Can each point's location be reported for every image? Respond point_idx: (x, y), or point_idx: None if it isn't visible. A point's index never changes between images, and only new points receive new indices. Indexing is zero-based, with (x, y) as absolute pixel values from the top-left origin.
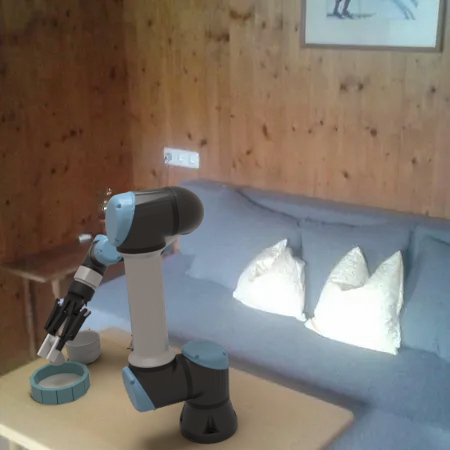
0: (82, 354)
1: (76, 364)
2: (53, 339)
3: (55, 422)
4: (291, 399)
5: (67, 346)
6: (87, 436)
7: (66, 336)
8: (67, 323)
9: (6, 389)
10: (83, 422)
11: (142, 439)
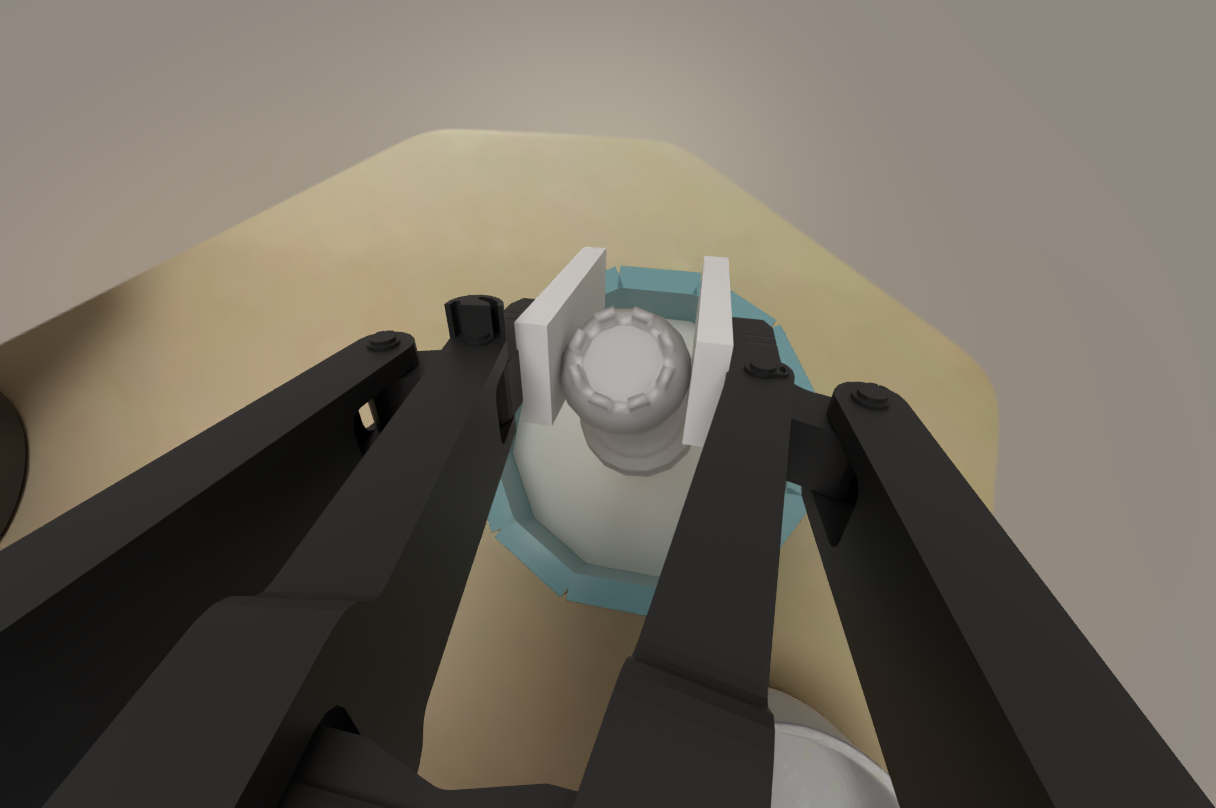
0: None
1: (627, 582)
2: (598, 314)
3: (484, 235)
4: None
5: (821, 731)
6: (320, 231)
7: (387, 332)
8: (390, 459)
9: (893, 310)
10: (381, 286)
11: (130, 310)
